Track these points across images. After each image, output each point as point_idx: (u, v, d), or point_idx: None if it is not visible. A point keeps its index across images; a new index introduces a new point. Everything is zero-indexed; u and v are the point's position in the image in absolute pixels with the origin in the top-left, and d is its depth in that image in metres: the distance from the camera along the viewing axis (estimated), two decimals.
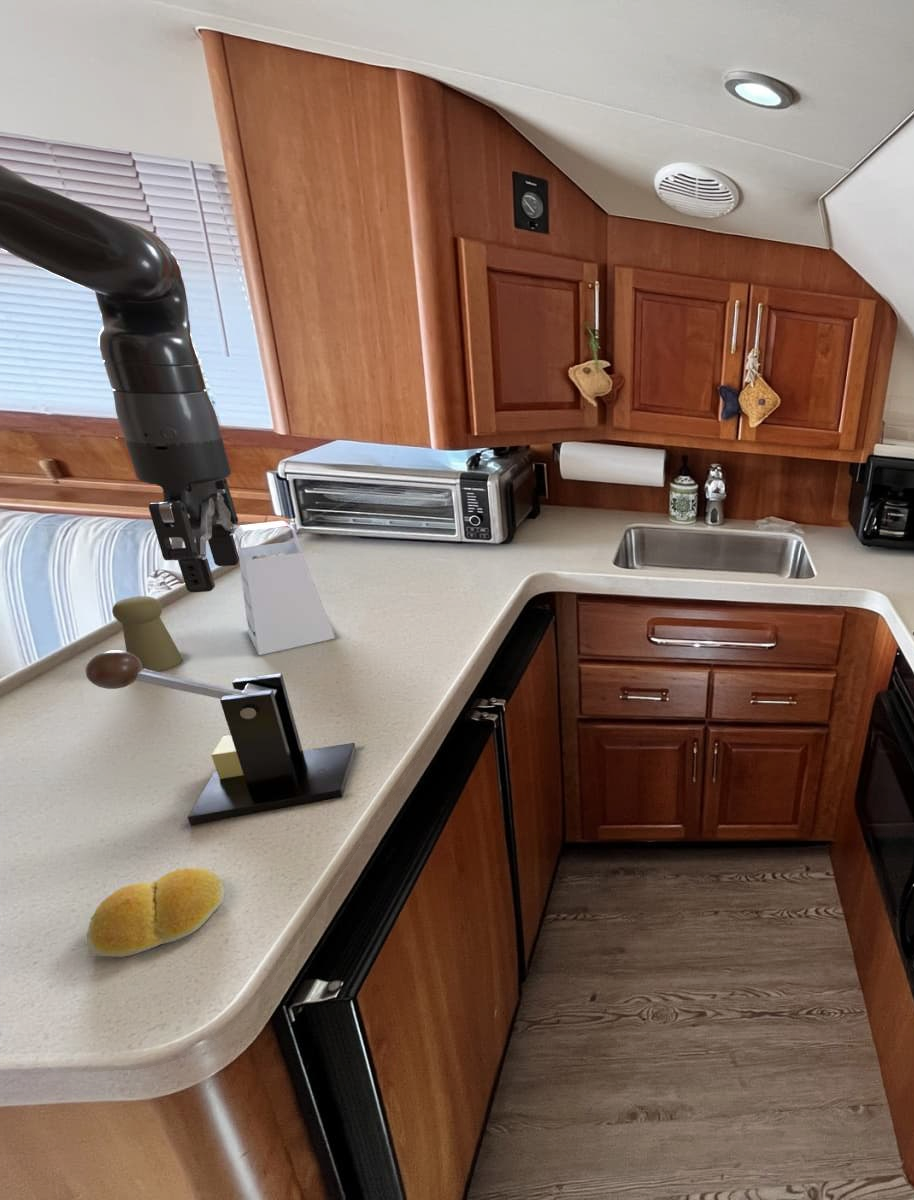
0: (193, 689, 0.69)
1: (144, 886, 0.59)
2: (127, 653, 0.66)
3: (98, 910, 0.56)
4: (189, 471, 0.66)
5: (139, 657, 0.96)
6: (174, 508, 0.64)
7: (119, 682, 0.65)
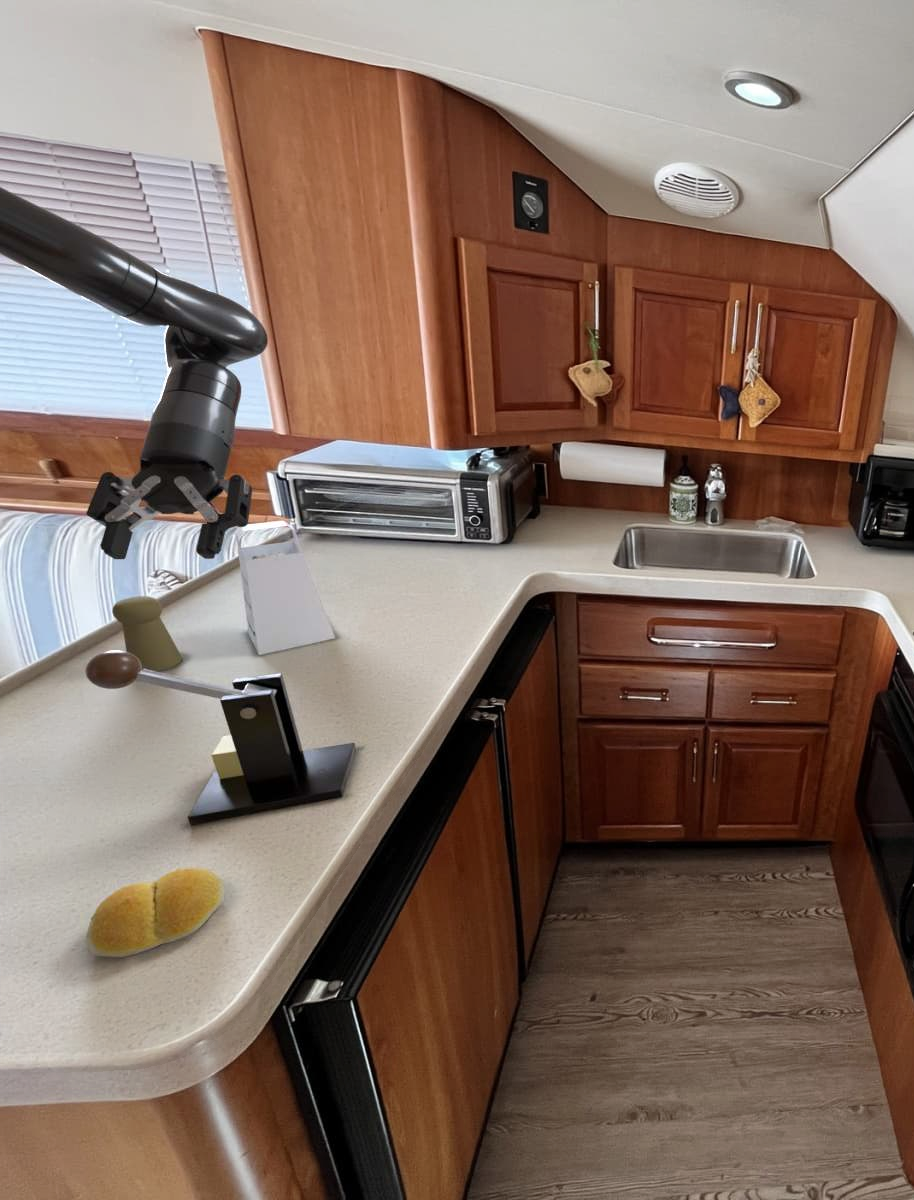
0: (193, 689, 0.69)
1: (144, 886, 0.59)
2: (127, 653, 0.66)
3: (98, 910, 0.56)
4: (226, 468, 0.80)
5: (139, 657, 0.96)
6: (250, 486, 0.79)
7: (119, 682, 0.65)
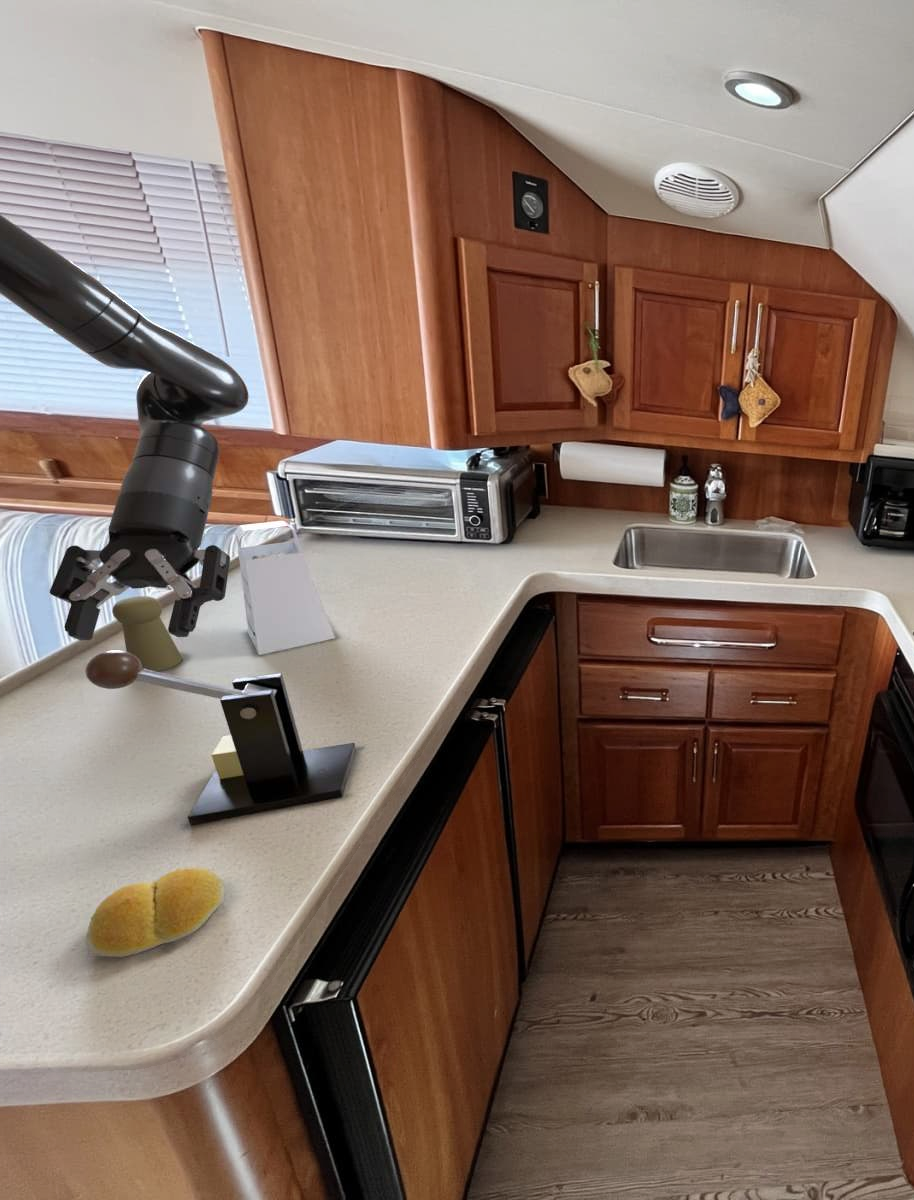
0: (193, 689, 0.69)
1: (144, 886, 0.59)
2: (127, 653, 0.66)
3: (98, 910, 0.56)
4: (202, 536, 0.75)
5: (139, 657, 0.96)
6: (227, 555, 0.74)
7: (119, 682, 0.65)
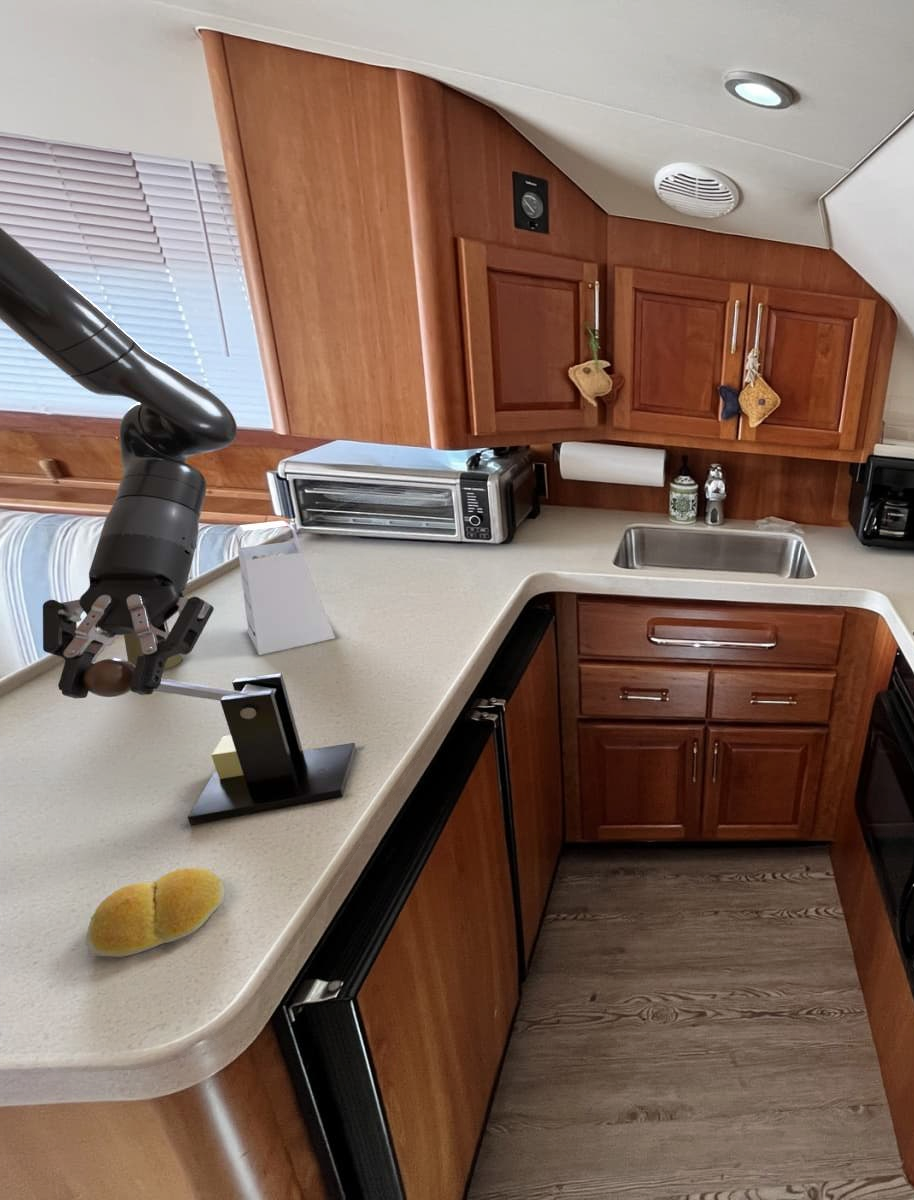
0: (192, 692, 0.69)
1: (144, 886, 0.59)
2: (122, 660, 0.66)
3: (98, 910, 0.56)
4: (187, 577, 0.72)
5: None
6: (210, 608, 0.71)
7: (117, 690, 0.65)
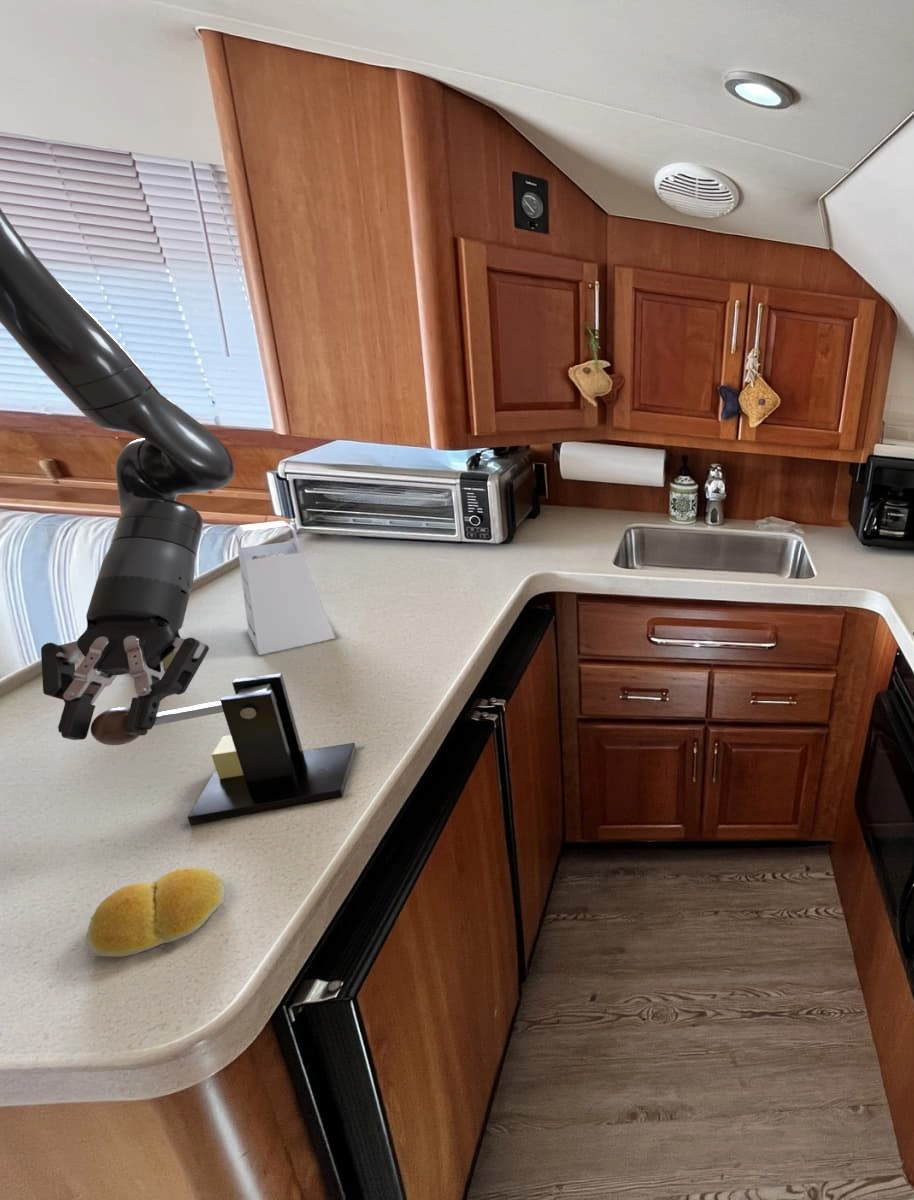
0: (194, 714, 0.70)
1: (144, 886, 0.59)
2: (116, 708, 0.68)
3: (98, 910, 0.56)
4: None
5: None
6: (206, 648, 0.72)
7: (125, 734, 0.67)
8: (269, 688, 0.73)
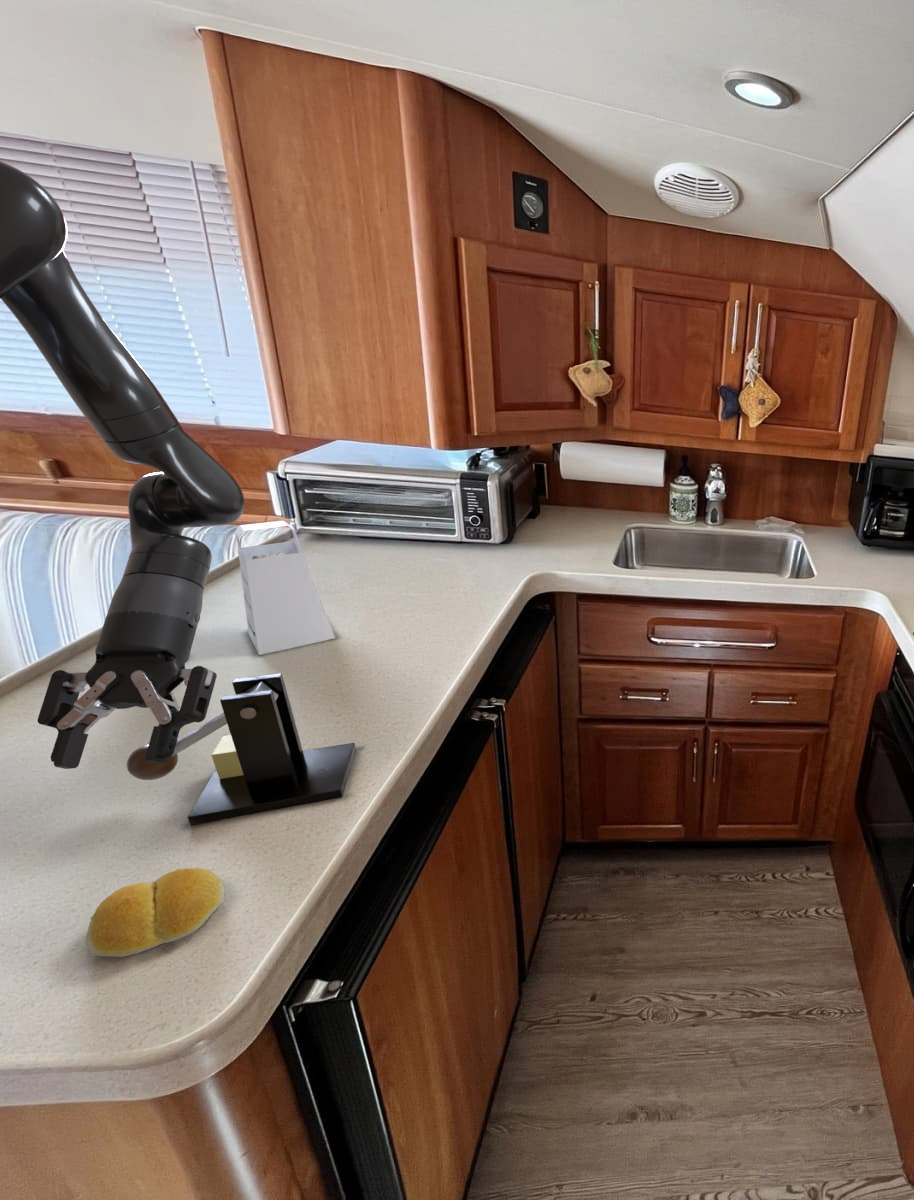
0: (208, 730, 0.71)
1: (144, 886, 0.59)
2: (141, 746, 0.70)
3: (98, 910, 0.56)
4: (190, 650, 0.74)
5: None
6: (214, 674, 0.73)
7: (158, 766, 0.69)
8: (262, 685, 0.73)
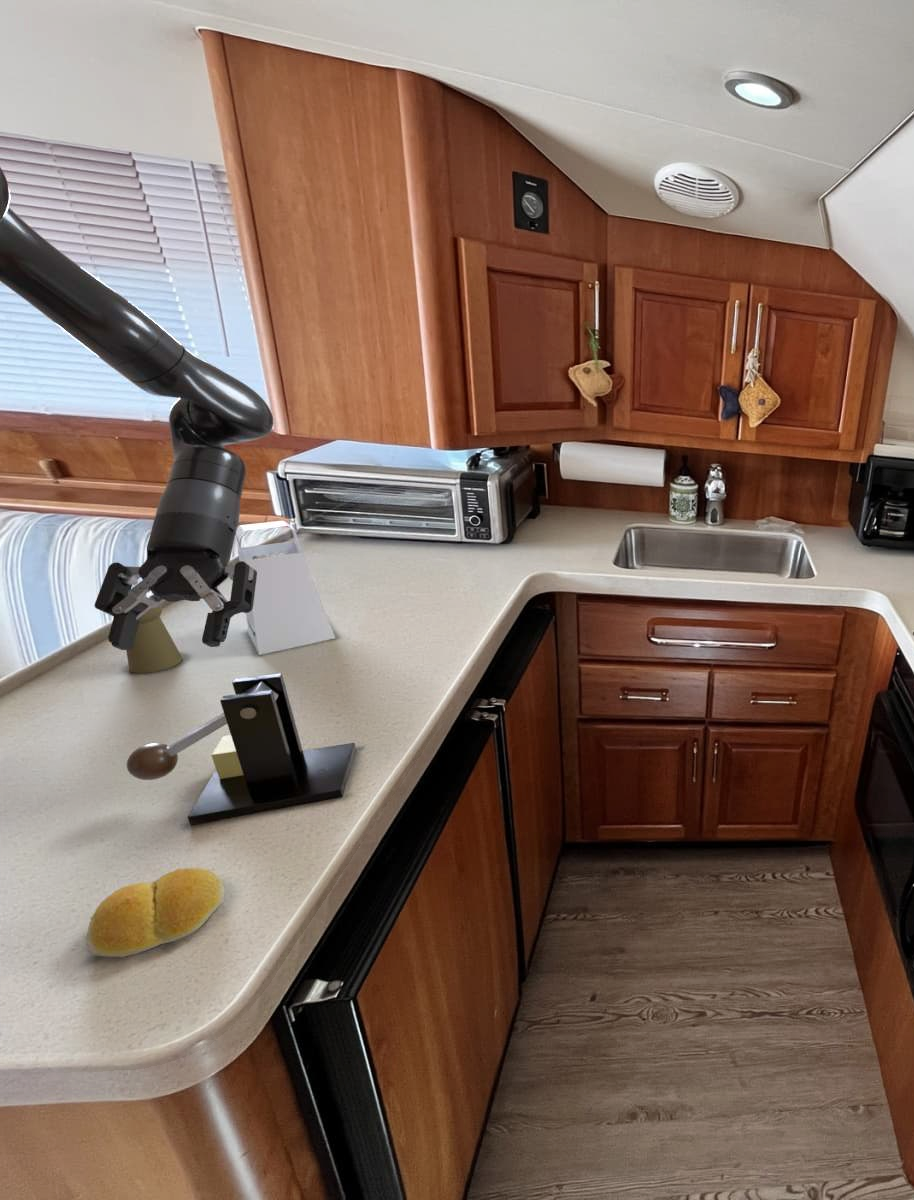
0: (208, 730, 0.71)
1: (144, 886, 0.59)
2: (141, 746, 0.70)
3: (98, 910, 0.56)
4: (231, 552, 0.81)
5: (139, 657, 0.96)
6: (254, 571, 0.80)
7: (158, 766, 0.69)
8: (262, 685, 0.73)
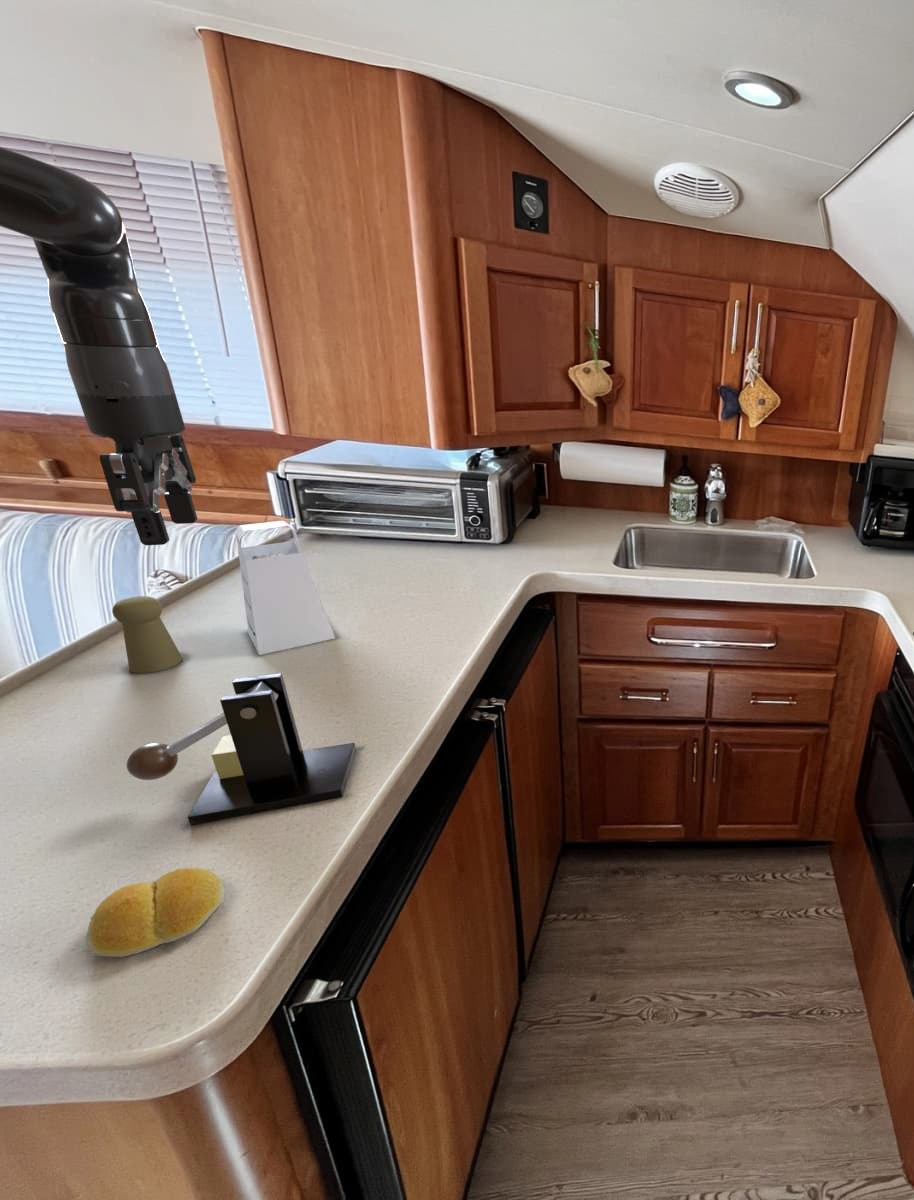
0: (208, 730, 0.71)
1: (144, 886, 0.59)
2: (141, 746, 0.70)
3: (98, 910, 0.56)
4: (141, 424, 0.67)
5: (139, 657, 0.96)
6: (125, 459, 0.65)
7: (158, 766, 0.69)
8: (262, 685, 0.73)
